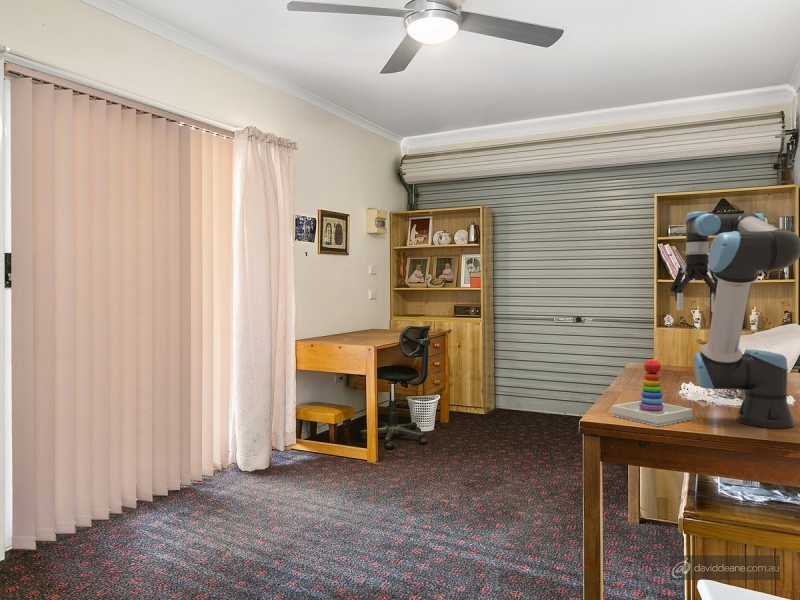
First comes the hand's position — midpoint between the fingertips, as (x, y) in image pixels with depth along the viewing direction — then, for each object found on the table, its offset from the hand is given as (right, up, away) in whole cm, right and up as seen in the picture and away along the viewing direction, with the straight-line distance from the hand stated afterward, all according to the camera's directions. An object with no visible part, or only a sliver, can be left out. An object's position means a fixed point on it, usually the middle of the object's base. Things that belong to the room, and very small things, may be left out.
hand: (696, 310), depth 218 cm
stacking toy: (-26, -35, -21) cm, 48 cm away
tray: (-26, -36, -21) cm, 49 cm away
